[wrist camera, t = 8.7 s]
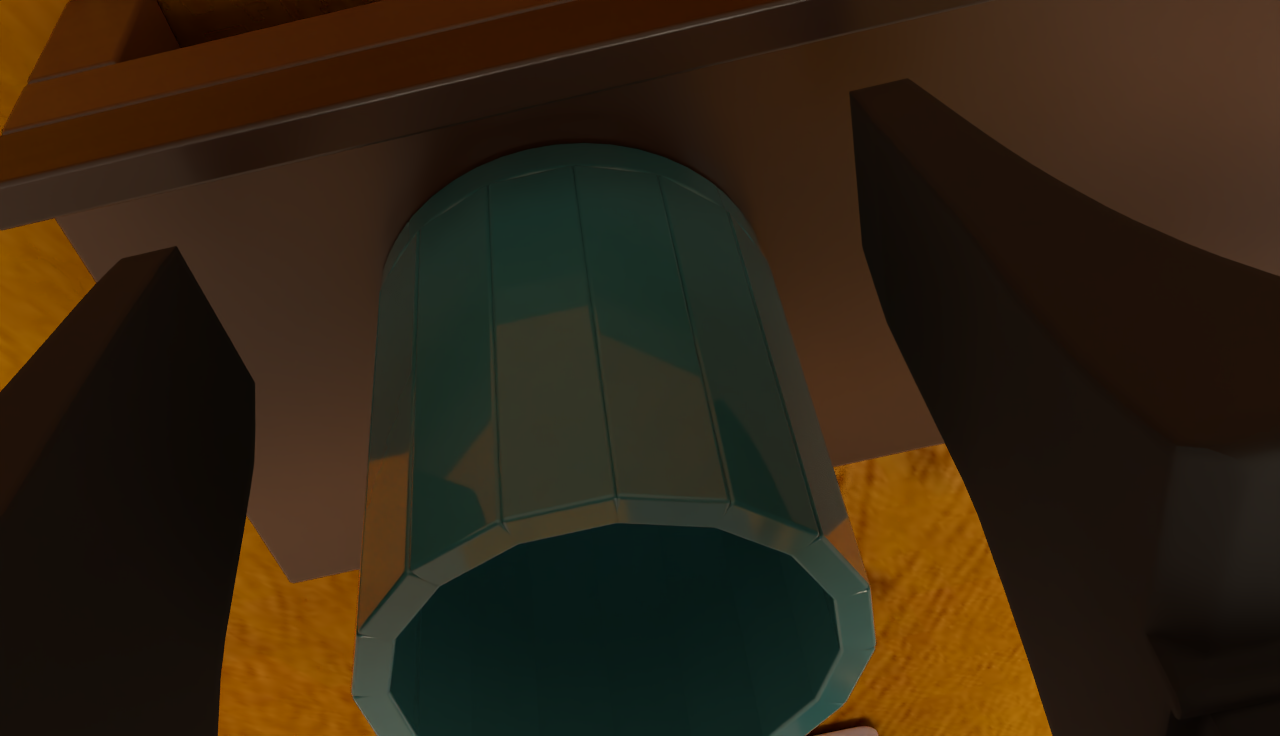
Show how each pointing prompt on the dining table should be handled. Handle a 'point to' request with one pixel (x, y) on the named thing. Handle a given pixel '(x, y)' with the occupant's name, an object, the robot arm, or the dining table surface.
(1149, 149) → the shelf
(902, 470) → the dining table surface
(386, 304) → the cup
